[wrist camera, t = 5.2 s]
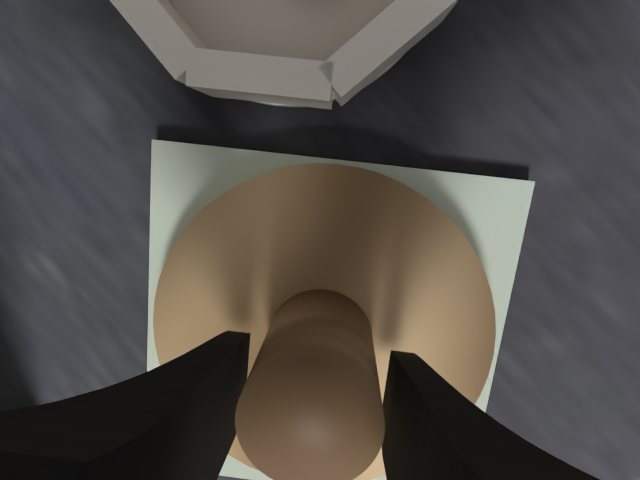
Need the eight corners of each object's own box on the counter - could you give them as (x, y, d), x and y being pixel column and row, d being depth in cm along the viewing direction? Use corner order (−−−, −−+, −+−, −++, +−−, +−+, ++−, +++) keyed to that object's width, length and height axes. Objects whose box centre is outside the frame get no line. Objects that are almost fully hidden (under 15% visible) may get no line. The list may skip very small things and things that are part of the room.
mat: (528, 180, 12) (535, 181, 12) (461, 497, 15) (464, 507, 14) (157, 139, 13) (151, 139, 12) (150, 457, 15) (145, 465, 14)
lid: (513, 179, 12) (624, 197, 7) (459, 481, 14) (517, 650, 9) (164, 149, 12) (51, 149, 8) (164, 448, 14) (76, 593, 10)
